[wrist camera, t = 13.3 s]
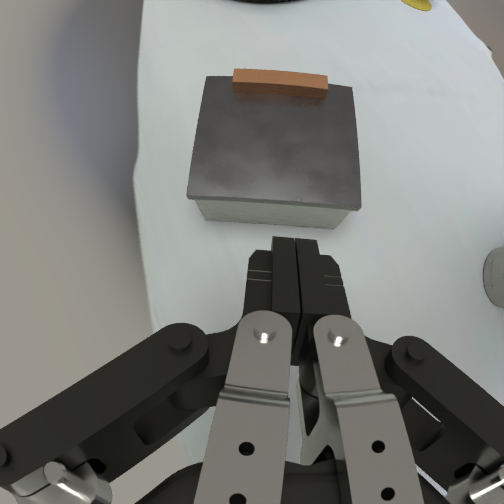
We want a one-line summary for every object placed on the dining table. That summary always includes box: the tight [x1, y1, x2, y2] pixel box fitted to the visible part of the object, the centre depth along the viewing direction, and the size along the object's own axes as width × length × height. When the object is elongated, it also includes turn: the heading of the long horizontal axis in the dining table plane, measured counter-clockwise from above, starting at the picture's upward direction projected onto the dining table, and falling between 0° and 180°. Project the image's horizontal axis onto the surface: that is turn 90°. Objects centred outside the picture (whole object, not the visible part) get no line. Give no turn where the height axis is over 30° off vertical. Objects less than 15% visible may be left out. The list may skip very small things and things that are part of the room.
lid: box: [187, 69, 361, 211], centre depth 30 cm, size 17×15×3 cm
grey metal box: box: [194, 199, 351, 229], centre depth 36 cm, size 16×14×9 cm
